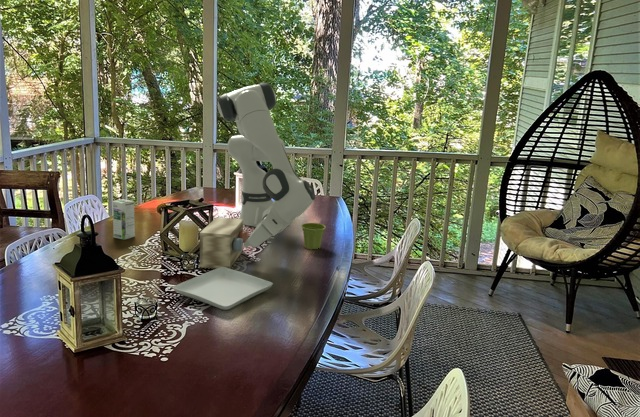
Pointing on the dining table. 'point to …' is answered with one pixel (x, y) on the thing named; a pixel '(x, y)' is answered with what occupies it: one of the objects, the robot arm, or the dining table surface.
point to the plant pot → (313, 235)
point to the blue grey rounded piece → (237, 244)
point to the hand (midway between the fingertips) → (245, 245)
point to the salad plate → (223, 287)
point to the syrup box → (123, 219)
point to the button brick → (243, 235)
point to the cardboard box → (219, 243)
